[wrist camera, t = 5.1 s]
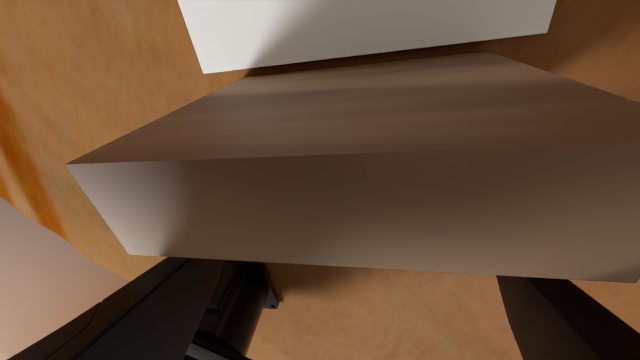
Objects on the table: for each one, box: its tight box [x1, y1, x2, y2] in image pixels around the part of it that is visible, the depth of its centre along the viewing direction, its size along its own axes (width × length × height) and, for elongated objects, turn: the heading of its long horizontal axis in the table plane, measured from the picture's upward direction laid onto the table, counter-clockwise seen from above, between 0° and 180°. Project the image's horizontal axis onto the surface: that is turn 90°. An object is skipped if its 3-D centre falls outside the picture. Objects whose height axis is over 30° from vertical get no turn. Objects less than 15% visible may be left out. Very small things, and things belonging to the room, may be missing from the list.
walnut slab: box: [65, 51, 640, 283], centre depth 10 cm, size 3×12×10 cm, turn 98°
